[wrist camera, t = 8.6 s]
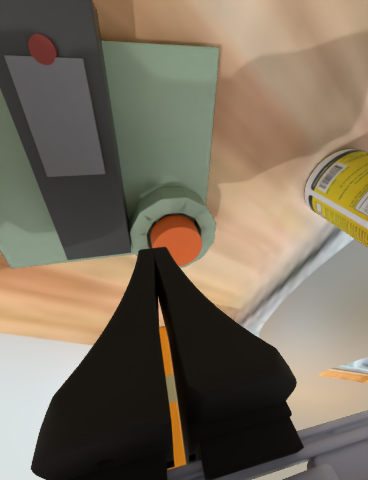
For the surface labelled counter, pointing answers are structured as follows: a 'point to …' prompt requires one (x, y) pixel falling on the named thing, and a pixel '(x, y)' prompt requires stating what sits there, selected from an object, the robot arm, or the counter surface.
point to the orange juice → (172, 402)
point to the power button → (177, 238)
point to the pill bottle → (342, 192)
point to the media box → (128, 151)
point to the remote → (66, 120)
